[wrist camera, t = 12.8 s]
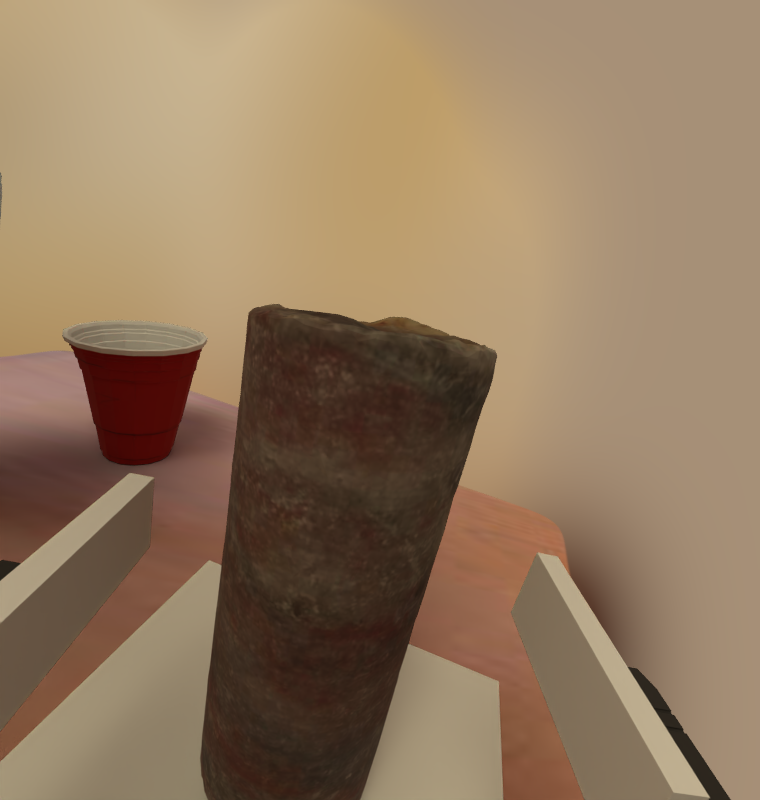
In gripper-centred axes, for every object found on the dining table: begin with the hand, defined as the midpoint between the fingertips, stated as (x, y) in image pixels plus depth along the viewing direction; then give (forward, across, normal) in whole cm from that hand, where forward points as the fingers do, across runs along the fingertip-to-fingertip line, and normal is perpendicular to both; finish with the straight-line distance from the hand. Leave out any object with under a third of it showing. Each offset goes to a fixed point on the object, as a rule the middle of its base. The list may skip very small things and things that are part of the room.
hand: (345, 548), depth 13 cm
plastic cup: (+24, -20, -13) cm, 33 cm away
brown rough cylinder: (+1, 0, -12) cm, 12 cm away
